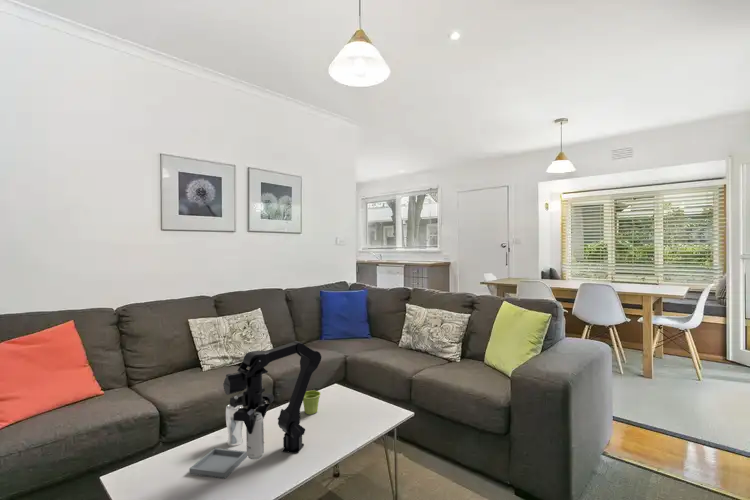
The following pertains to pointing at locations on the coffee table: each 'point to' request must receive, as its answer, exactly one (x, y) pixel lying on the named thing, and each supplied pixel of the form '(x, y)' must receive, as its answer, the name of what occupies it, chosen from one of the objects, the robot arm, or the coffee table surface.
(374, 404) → the coffee table surface
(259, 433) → the energy drink can
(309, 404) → the plant pot
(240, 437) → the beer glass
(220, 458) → the blue-gray tray
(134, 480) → the coffee table surface
